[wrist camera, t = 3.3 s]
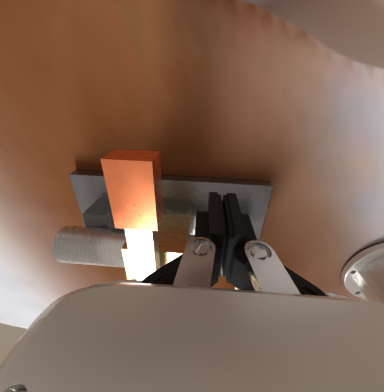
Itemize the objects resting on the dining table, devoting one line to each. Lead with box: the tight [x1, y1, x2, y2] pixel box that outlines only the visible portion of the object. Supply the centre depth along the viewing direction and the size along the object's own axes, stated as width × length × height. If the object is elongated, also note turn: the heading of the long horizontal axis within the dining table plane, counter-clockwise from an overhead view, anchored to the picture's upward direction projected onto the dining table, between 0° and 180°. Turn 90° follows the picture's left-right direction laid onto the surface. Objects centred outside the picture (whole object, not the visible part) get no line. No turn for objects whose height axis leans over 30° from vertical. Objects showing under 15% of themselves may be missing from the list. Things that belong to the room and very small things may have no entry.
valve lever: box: [101, 149, 164, 281], centre depth 16 cm, size 14×3×3 cm, turn 178°
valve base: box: [52, 170, 273, 279], centre depth 25 cm, size 26×14×10 cm, turn 88°
